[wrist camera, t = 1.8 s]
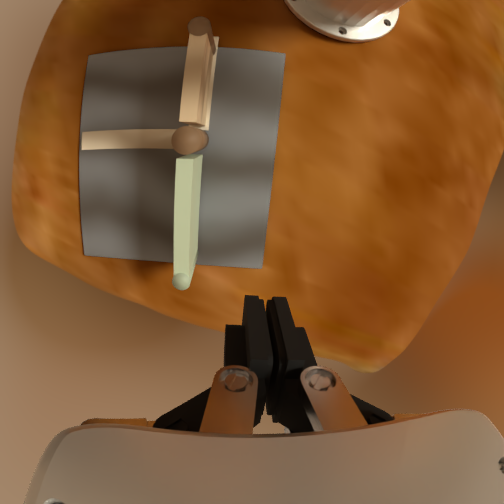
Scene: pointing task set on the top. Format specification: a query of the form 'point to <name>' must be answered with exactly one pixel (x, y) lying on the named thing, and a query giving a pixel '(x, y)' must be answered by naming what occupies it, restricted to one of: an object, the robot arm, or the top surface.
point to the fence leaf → (186, 218)
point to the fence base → (179, 148)
